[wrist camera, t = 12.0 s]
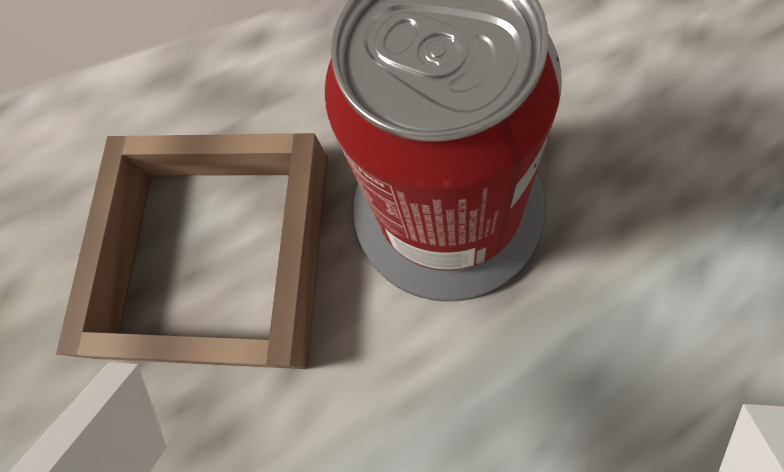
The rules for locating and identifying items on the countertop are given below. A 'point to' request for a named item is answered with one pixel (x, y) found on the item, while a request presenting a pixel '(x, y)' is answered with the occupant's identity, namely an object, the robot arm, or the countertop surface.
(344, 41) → the soda can
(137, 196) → the frame
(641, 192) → the countertop surface
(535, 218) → the coaster
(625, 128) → the countertop surface
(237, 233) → the countertop surface
